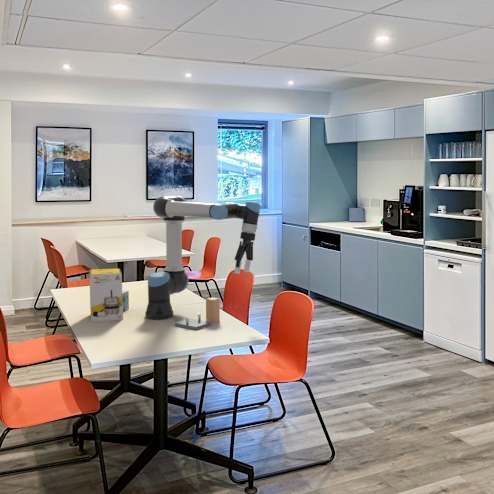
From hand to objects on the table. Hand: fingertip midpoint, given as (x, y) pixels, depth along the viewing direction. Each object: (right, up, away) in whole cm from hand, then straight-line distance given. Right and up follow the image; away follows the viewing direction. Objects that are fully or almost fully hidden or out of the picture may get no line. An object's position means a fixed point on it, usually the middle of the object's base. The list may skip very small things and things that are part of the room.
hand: (241, 272), depth 310 cm
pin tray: (-24, -27, -3) cm, 36 cm away
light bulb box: (-69, -23, +31) cm, 79 cm away
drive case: (-15, -26, +7) cm, 31 cm away
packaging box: (-73, -25, +16) cm, 79 cm away
